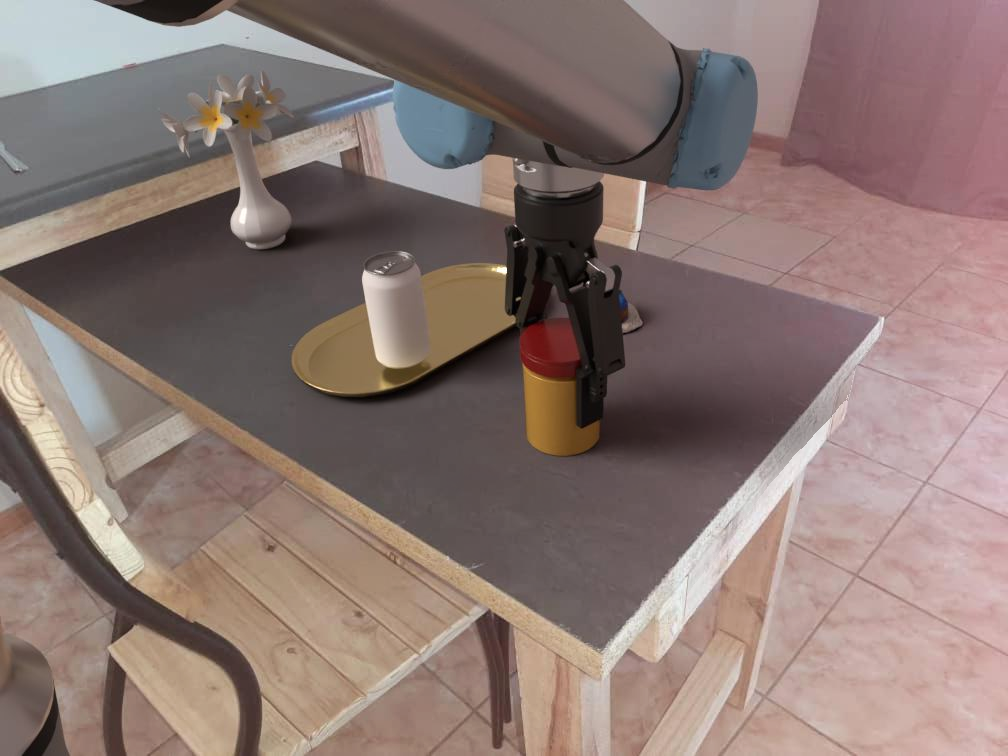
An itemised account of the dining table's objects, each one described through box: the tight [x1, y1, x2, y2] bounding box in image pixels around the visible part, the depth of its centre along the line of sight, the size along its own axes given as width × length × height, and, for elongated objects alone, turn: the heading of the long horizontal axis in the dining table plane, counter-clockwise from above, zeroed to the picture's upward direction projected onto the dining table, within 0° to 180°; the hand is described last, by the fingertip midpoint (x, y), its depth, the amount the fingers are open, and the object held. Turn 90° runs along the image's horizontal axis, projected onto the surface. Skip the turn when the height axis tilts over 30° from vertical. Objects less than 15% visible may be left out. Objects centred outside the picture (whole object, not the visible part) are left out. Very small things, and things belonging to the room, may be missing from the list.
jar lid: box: [519, 317, 582, 378], centre depth 74 cm, size 8×8×2 cm
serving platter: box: [291, 262, 521, 398], centre depth 98 cm, size 19×35×2 cm, turn 135°
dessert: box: [619, 289, 644, 334], centre depth 97 cm, size 8×7×6 cm
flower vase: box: [156, 70, 295, 251], centre depth 116 cm, size 13×18×25 cm
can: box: [361, 250, 431, 369], centre depth 87 cm, size 6×6×12 cm
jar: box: [522, 363, 601, 457], centre depth 77 cm, size 8×8×10 cm
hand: (562, 400), depth 78 cm, fingers closed on jar lid, 8 cm apart
